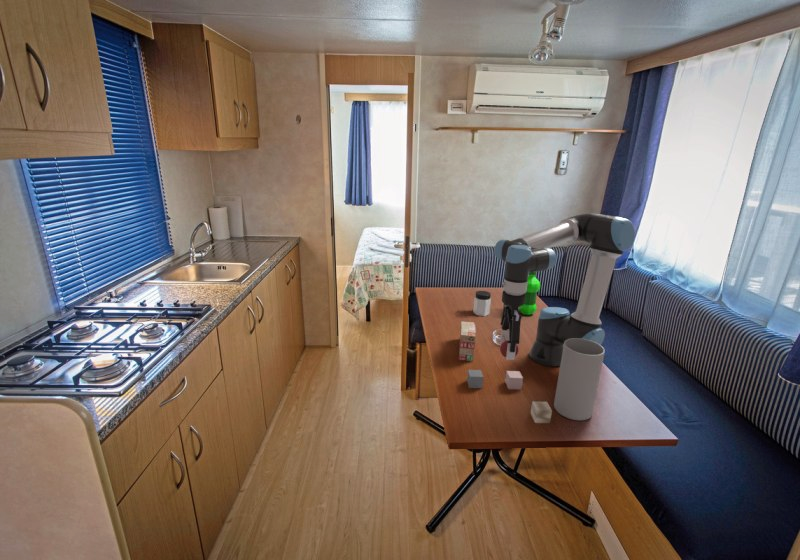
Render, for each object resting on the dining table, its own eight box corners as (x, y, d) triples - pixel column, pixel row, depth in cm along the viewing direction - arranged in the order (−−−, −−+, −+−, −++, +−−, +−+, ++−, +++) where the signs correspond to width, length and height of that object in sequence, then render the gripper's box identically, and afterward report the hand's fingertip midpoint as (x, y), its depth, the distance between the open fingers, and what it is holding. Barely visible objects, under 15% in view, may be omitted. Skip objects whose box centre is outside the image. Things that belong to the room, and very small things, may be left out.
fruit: (514, 357, 144) (512, 335, 146) (521, 357, 139) (518, 333, 140) (497, 358, 143) (495, 335, 145) (504, 358, 138) (501, 334, 139)
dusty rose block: (517, 382, 160) (519, 371, 159) (521, 389, 156) (523, 378, 154) (505, 382, 160) (506, 370, 159) (508, 389, 156) (509, 377, 154)
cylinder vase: (554, 396, 152) (564, 335, 144) (591, 405, 147) (603, 342, 139) (552, 415, 141) (563, 350, 133) (592, 425, 136) (605, 358, 128)
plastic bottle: (513, 312, 230) (518, 270, 222) (523, 308, 236) (529, 267, 229) (529, 318, 223) (535, 274, 215) (539, 313, 229) (545, 271, 222)
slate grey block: (479, 381, 160) (480, 370, 159) (482, 388, 156) (483, 376, 154) (467, 380, 160) (468, 369, 159) (468, 388, 156) (470, 376, 154)
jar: (491, 315, 224) (493, 295, 221) (477, 316, 223) (479, 296, 219) (484, 309, 233) (486, 290, 229) (471, 310, 231) (473, 290, 227)
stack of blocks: (459, 338, 196) (461, 315, 192) (473, 340, 195) (475, 316, 191) (458, 360, 176) (460, 334, 172) (473, 361, 175) (475, 335, 171)
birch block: (544, 414, 141) (546, 401, 140) (549, 423, 137) (552, 410, 135) (530, 413, 141) (532, 401, 140) (535, 423, 137) (537, 410, 135)
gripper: (496, 281, 146) (490, 339, 153) (511, 303, 126) (503, 368, 133) (517, 282, 146) (510, 339, 153) (535, 303, 126) (526, 368, 133)
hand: (507, 352), depth 143 cm, fingers closed on fruit, 8 cm apart
